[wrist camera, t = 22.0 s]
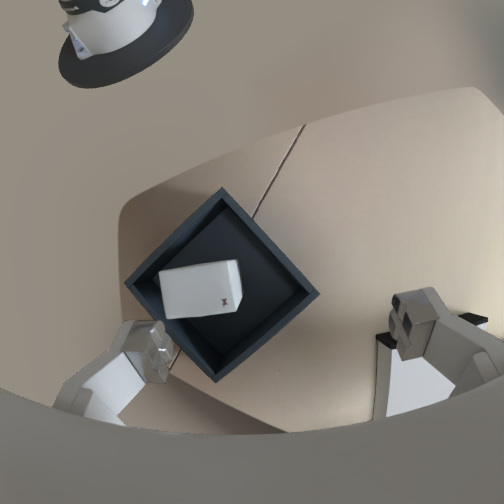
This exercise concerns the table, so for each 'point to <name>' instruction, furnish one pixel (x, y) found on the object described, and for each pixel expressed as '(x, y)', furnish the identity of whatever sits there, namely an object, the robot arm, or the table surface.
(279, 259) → the bin
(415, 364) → the disc drive
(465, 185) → the table surface
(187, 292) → the cosmetic box
